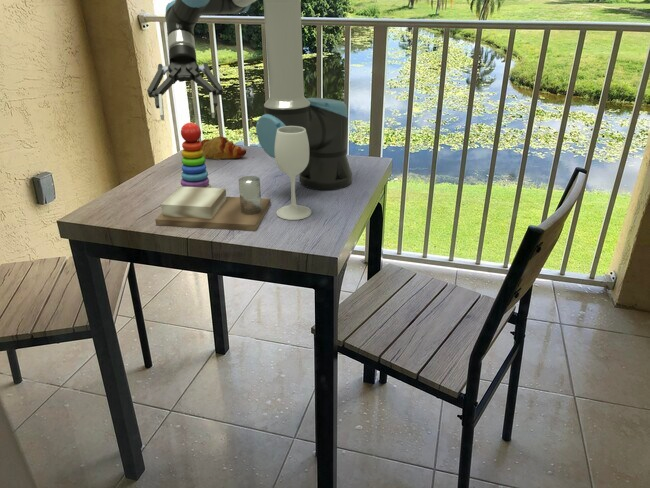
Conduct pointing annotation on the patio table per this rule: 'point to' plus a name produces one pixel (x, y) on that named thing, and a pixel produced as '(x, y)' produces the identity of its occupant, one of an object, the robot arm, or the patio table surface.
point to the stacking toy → (193, 158)
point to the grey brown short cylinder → (250, 195)
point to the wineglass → (292, 165)
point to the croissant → (221, 149)
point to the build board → (221, 217)
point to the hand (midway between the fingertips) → (187, 116)
